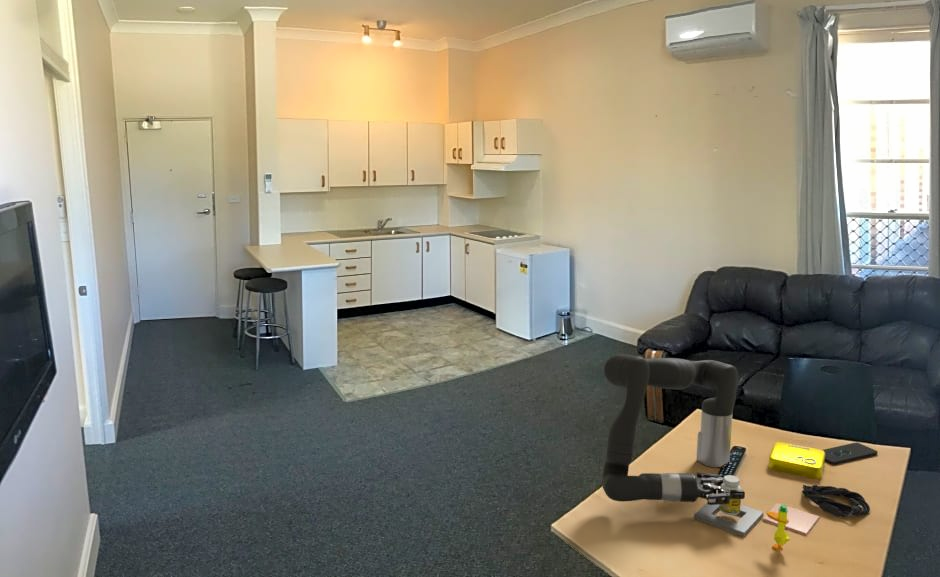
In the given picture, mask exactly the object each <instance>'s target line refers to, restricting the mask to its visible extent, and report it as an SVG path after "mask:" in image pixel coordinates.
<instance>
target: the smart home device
mask: <svg viewBox="0 0 940 577" xmlns="http://www.w3.org/2000/svg"><path fill="white" fill-rule="evenodd" d="M822 450H823V451H824V452H825V463H827V464H829V465H831V466H837V465H841V464H845V463H850V462H853V461H858V460H862V459H866V458H871V457H875V456H878V450H876V449H873V448H872V447H869V446H867V445H866V444H865V445H864V444H862V443H860V442H852V443H846V444H843V445H839V446H835V447H830V448H825V449H822Z"/></svg>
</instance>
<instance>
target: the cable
mask: <svg viewBox="0 0 940 577" xmlns="http://www.w3.org/2000/svg"><path fill="white" fill-rule="evenodd" d="M801 493H802V494H803V495H804V498H806V499H809V500H810V501H811V502H812V503H814V504H816V505H817V506H818V507H819V508H820V509H821V510H822V511H824V512H826V513H828V514H831V515H833V516H835V517H837V518H840V517H841V518H849V516H855V517H863V516H865V517H866V516H868V515H869V514H870V512H871V508H870V505H869V503H867V502H866V498H864V497H863V496H862V494H860V493H858V492H856V491H851V490H849V489H848V488H846V487H836V486H831V485H818V484H813V485H806V484H803V485H802V491H801ZM827 496H834V497H843V498H844V499H847V501H848V502H849V503H850V504H851V505H853V506H851V505H849V504H845V503H843V502H839V501H837V500H835V499H832V497H827Z"/></svg>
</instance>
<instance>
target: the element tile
mask: <svg viewBox="0 0 940 577" xmlns="http://www.w3.org/2000/svg"><path fill="white" fill-rule="evenodd" d="M823 450H824V449H819V448H813V447H809V446H804V445H796V444H793V443H787V442H783V441H776V442H774V443H773V447H772V448H771V451H770V453H769V456H768V469H769V470H771V471H774V472H778V473H781V474H782V473H783V474H787V475H792V476H796V477H797V476H798V477H803V478H805V479H811V480H817V481H818V480H821V479H822V478H823V473H824V468H825V465H826V464H825V463H826V462H825V452H824V451H823Z"/></svg>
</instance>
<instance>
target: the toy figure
mask: <svg viewBox="0 0 940 577" xmlns="http://www.w3.org/2000/svg"><path fill="white" fill-rule="evenodd" d="M781 504H782V503H781ZM787 506H788V505H786V504H782V505H781V507H779V508H778V509H779V510H778V513H775V512H771V511H770V510H769V511H765V515H766V514H767V515H768V517H769V518H771V519H773V520H775V521H777V522H778V525H777V529H776V530H775V531H774V537H773V538H774V539H773V540H774V542H775V544H773V545H772V546H771V548H772V549H773V550H776V551H778V552H781V551H782V550H783V549H784V548H783V546H784V545H786V544H787V543H788V542H790V540H791V539H792V538H791V536H788V533H787V532H786V531H785V529H786V528H785V526H786V524H788V522H789V520H788V519H787V512H788V510H787Z"/></svg>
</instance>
